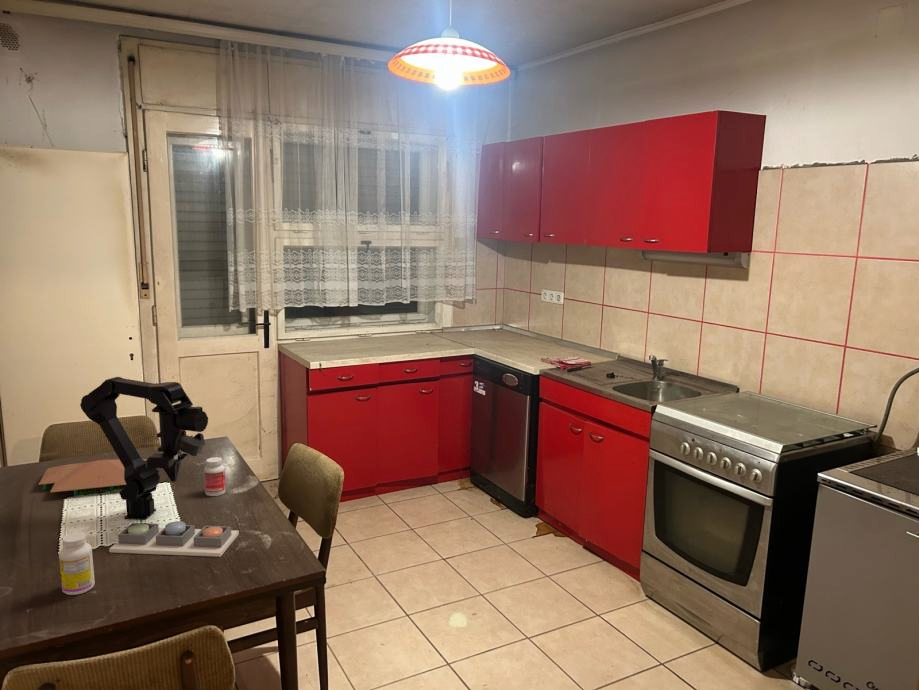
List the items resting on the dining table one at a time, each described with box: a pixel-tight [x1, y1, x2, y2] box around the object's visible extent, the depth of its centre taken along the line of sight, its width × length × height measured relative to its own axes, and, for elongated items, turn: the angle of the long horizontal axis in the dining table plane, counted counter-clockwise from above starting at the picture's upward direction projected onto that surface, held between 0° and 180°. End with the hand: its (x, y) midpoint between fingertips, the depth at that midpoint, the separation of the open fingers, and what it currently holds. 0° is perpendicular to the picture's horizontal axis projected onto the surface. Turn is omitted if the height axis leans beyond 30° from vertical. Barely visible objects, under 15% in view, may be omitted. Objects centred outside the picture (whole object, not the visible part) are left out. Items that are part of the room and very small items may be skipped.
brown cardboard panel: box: [38, 458, 148, 498], centre depth 220 cm, size 23×33×8 cm
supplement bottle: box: [58, 532, 96, 596], centre depth 157 cm, size 7×7×13 cm
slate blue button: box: [164, 520, 186, 536], centre depth 180 cm, size 5×5×2 cm
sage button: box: [128, 524, 149, 534], centre depth 181 cm, size 5×5×2 cm
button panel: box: [108, 522, 240, 558], centre depth 181 cm, size 29×13×4 cm, turn 88°
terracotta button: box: [203, 527, 223, 537], centre depth 180 cm, size 5×5×2 cm
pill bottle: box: [203, 456, 227, 497], centre depth 214 cm, size 6×6×11 cm
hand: (173, 481), depth 192 cm, fingers closed
